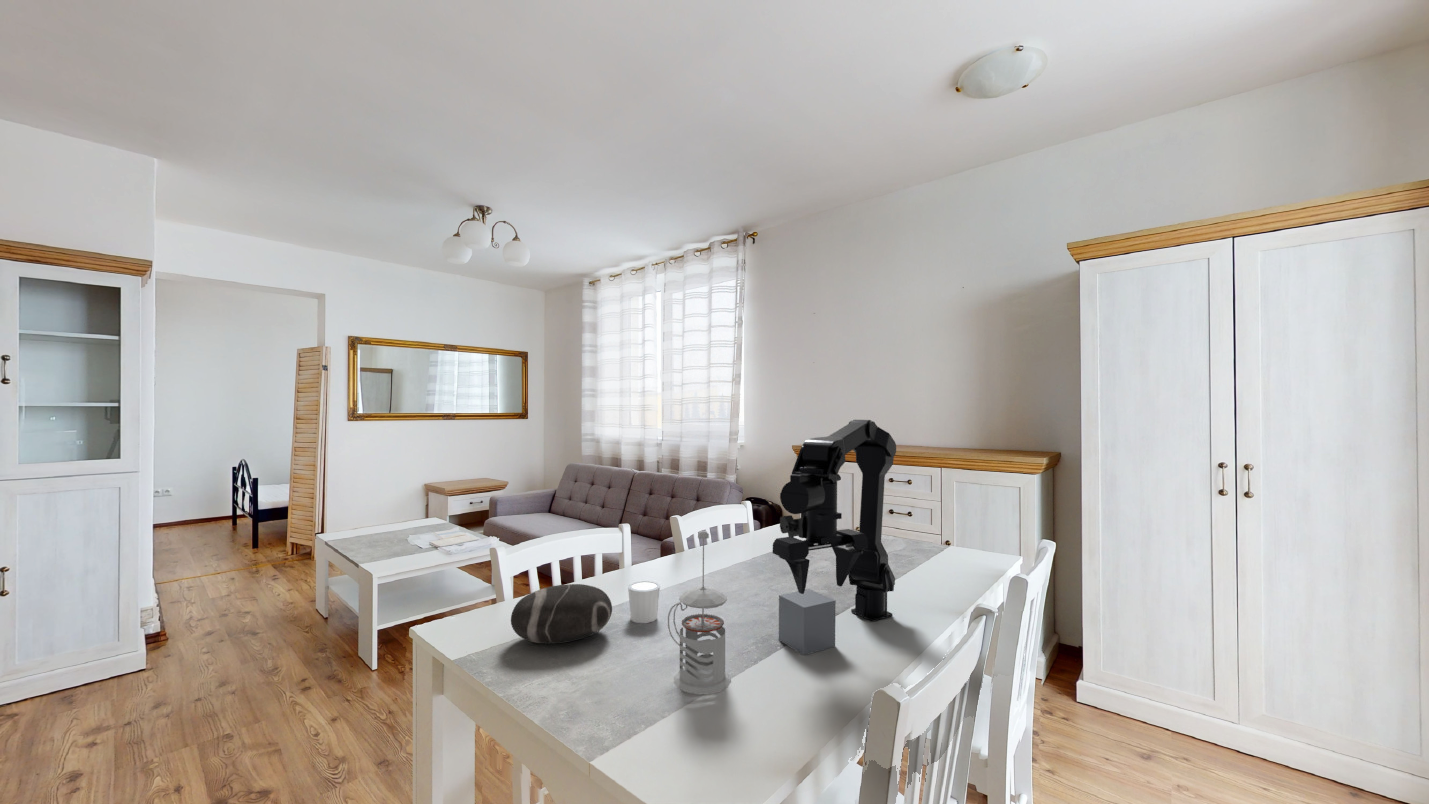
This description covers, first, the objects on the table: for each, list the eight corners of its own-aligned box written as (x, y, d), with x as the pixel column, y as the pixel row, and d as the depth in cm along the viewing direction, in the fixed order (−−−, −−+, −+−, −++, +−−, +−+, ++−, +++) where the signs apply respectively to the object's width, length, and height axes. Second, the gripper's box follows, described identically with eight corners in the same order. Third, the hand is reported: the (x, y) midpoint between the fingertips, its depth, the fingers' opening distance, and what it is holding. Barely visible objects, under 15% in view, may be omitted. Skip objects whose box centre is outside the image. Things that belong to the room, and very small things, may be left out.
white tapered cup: (654, 625, 117) (654, 592, 117) (623, 622, 118) (623, 589, 118) (663, 613, 124) (664, 581, 124) (634, 611, 125) (634, 579, 125)
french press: (711, 700, 88) (712, 540, 88) (652, 680, 94) (653, 531, 94) (742, 675, 96) (743, 528, 96) (686, 658, 102) (687, 521, 102)
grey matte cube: (809, 632, 114) (809, 588, 114) (835, 646, 107) (835, 600, 108) (778, 639, 110) (778, 595, 110) (803, 655, 104) (804, 607, 104)
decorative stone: (513, 662, 100) (513, 606, 100) (508, 632, 113) (508, 582, 113) (619, 644, 108) (620, 592, 108) (603, 618, 121) (603, 571, 121)
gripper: (830, 496, 117) (830, 571, 117) (756, 503, 108) (755, 584, 108) (870, 505, 107) (869, 586, 107) (791, 513, 98) (790, 602, 98)
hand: (820, 589), depth 105 cm, fingers open, 9 cm apart
